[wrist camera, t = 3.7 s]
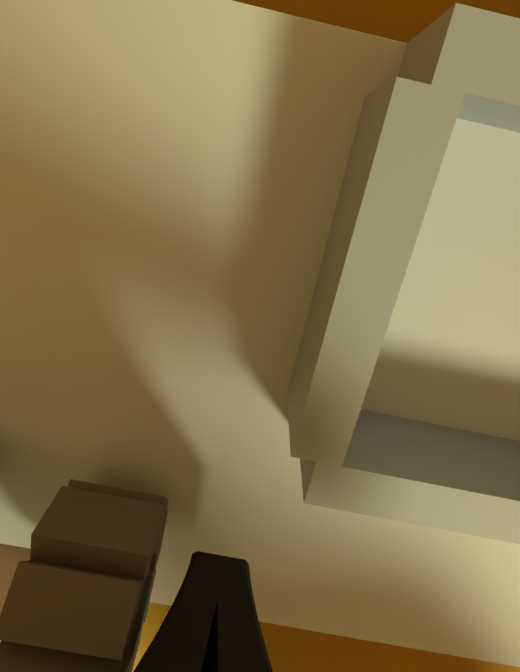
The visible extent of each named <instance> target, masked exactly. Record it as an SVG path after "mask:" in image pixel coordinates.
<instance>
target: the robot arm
mask: <svg viewBox="0 0 520 672" xmlns="http://www.w3.org/2000/svg"><path fill="white" fill-rule="evenodd" d="M134 672H273V671H272V668H271V665H270V661H269V658H268V654H267V650H266V647H265V643H264V640H263V636H262V632H261V628H260V624H259V620H258V616H257V611H256V607H255V602H254V597H253V592H252V586H251V579H250V571H249V564H248V562H247V561H246V560H244V559H239V558H233V557H228V556H222V555H217V554H211V553H206V552H200V551H197V552H195V553H193V554H192V556H191V560H190V564H189V567H188V570H187V572H186V575H185V578H184V580H183V582H182V585H181V587H180V589H179V591H178V594H177V596H176V598H175V600H174V602H173V604H172V606H171V608H170V610H169V612H168V613H167V615H166V617H165V619H164V621H163V623H162V625H161V627H160V628H159V630H158V632H157V634H156V636H155V637H154V639H153V641H152V642H151V644H150V646H149V647H148V649H147V651H146V652H145V654H144V655H143V657H142V659H141V660H140V662H139V664H138V665H137V667H136V669H135V670H134Z"/></svg>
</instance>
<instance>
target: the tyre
mask: <svg viewBox="0 0 520 672" xmlns="http://www.w3.org/2000/svg"><path fill="white" fill-rule="evenodd" d="M168 503H169V500H168V499H167V497H164V496H158V495H153V494H148V493H142V492H137V491H132V490H126V489H121V488H116V487H110V486H105V485H100V484H94V483H89V482H84V481H78V480H73V479H70V481H69V484H68V487H65V486H62V487H61V488H60V490H59V491H58V493H57V494H56V496H55V498H54V499H53V501H52V502H51V504H50V506H49V507H48V509H47V510H46V512H45V513H44V515H43V517H42V518H41V520H40V521H39V523H38V524H37V526H36V528H35V529H34V531H33V532H32V534H31V548H30V560H28V561H20V562H18V565H17V568H16V571H15V573H14V576H13V579H12V582H11V585H10V588H9V591H8V594H7V597H6V600H5V603H4V606H3V609H2V612H1V615H0V640H1V642H0V672H132V668H133V665H134V661H135V657H136V654H137V650H138V646H139V642H140V636H141V631H142V625H143V623H144V622H145V618H146V614H147V610H148V605H149V601H150V597H151V592H152V588H153V584H154V579H155V575H156V571H157V570H155V569H156V566H157V562H158V559H159V555H160V551H161V546H162V540H163V535H164V529H165V523H166V518H167V512H168V510H167V507H168Z"/></svg>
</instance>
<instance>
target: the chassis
mask: <svg viewBox="0 0 520 672" xmlns="http://www.w3.org/2000/svg"><path fill="white" fill-rule="evenodd" d="M70 479H73V480H78V481H84V482H89V483H94V484H100V485H105V486H110V487H116V488H121V489H126V490H132V491H137V492H142V493H148V494H153V495H158V496H164V497H167V499H168V500H169V503H168V507H167V510H168V512H167V518H166V523H165V529H164V535H163V540H162V546H161V551H160V555H159V559H158V562H157V566H156V569H155V570H157V571H156V575H155V579H154V584H153V588H152V592H151V597H150V601H149V602H151V603H156V604H162V605H168V606H172V604H173V602H174V600H175V598H176V596H177V594H178V591H179V589H180V587H181V585H182V582H183V580H184V578H185V575H186V572H187V570H188V567H189V564H190V560H191V556H192V554H193V553H195V552H197V551H200V552H206V553H211V554H217V555H222V556H228V557H233V558H239V559H244V560H246V561H247V562H248V564H249V571H250V579H251V586H252V592H253V597H254V602H255V607H256V611H257V616H258V620H259V622H264V623H270V624H276V625H281V626H287V627H293V628H298V629H304V630H310V631H315V632H321V633H327V634H332V635H338V636H344V637H350V638H355V639H361V640H367V641H372V642H378V643H384V644H389V645H395V646H401V647H406V648H412V649H418V650H423V651H429V652H435V653H440V654H446V655H452V656H457V657H463V658H469V659H475V660H480V661H486V662H492V663H497V664H503V665H509V666H514V667H520V18H516V17H512V16H508V15H504V14H500V13H496V12H492V11H488V10H484V9H480V8H476V7H472V6H468V5H464V4H460V3H455V4H454V5H453V6H451V7H450V8H449V9H448V10H447V11H445V12H444V13H443V14H442V15H440V16H439V17H438V18H437V19H436V20H434V21H433V22H432V23H431V24H429V25H428V26H427V27H426V28H425V29H423V30H422V31H421V32H420V33H419V34H417V35H416V36H415V37H414V38H412V39H411V40H410V41H409V42H408V43H405V42H401V41H397V40H393V39H389V38H385V37H381V36H377V35H373V34H368V33H364V32H360V31H356V30H352V29H348V28H344V27H340V26H336V25H331V24H327V23H323V22H319V21H315V20H311V19H307V18H303V17H298V16H294V15H290V14H286V13H282V12H278V11H274V10H270V9H266V8H261V7H257V6H253V5H249V4H245V3H241V2H237V1H233V0H0V615H1V612H2V609H3V606H4V603H5V600H6V597H7V594H8V591H9V588H10V585H11V582H12V579H13V576H14V573H15V571H16V568H17V565H18V562H20V561H28V560H30V548H31V534H32V532H33V531H34V529H35V528H36V526H37V524H38V523H39V521H40V520H41V518H42V517H43V515H44V513H45V512H46V510H47V509H48V507H49V506H50V504H51V502H52V501H53V499H54V498H55V496H56V494H57V493H58V491H59V490H60V488H61V487H62V486H65V487H68V484H69V481H70Z"/></svg>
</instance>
